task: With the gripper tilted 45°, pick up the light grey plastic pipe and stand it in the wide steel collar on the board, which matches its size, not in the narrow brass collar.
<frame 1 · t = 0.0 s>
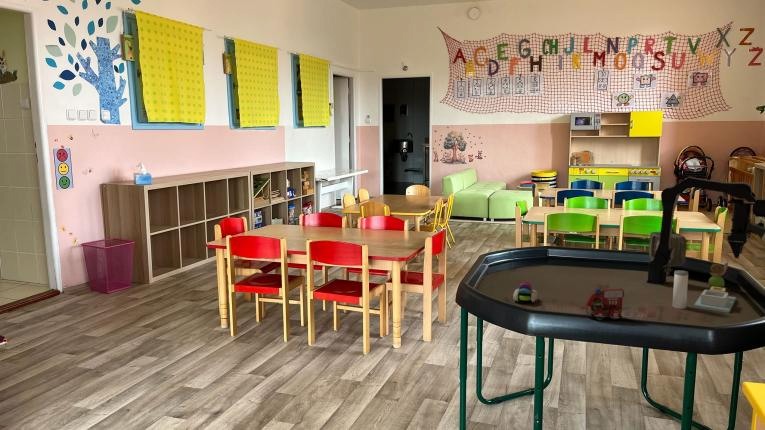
hand: (738, 255, 229), 15 cm above the table, tool pointing down, fingers open, 9 cm apart
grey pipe: (679, 306, 216), on the table
toy fire truck: (603, 318, 207), on the table
snail figurine: (717, 289, 237), on the table
multicoloured small toy: (525, 301, 227), on the table
tabletop clock: (666, 272, 264), on the table
fitting board: (715, 303, 219), on the table
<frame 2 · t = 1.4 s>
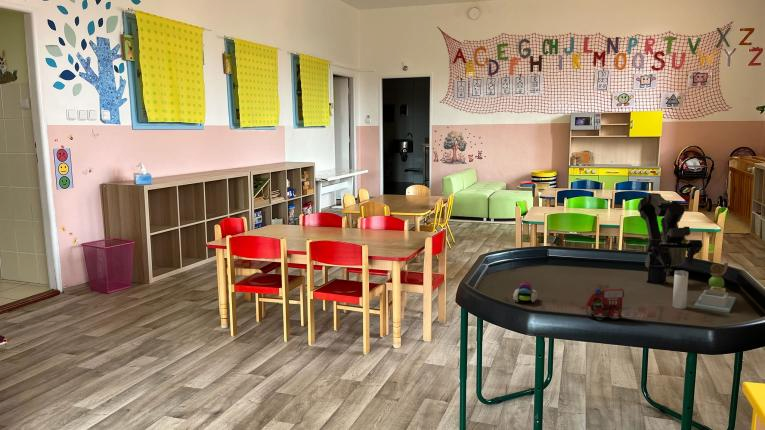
hand: (677, 265, 222), 13 cm above the table, tool tilted 45°, fingers open, 9 cm apart
nothing on the table moved.
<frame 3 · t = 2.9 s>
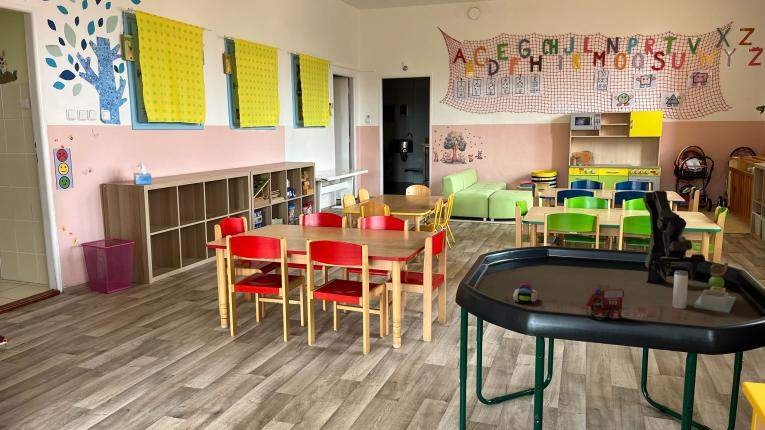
hand: (679, 280, 217), 9 cm above the table, tool tilted 45°, fingers open, 9 cm apart
nothing on the table moved.
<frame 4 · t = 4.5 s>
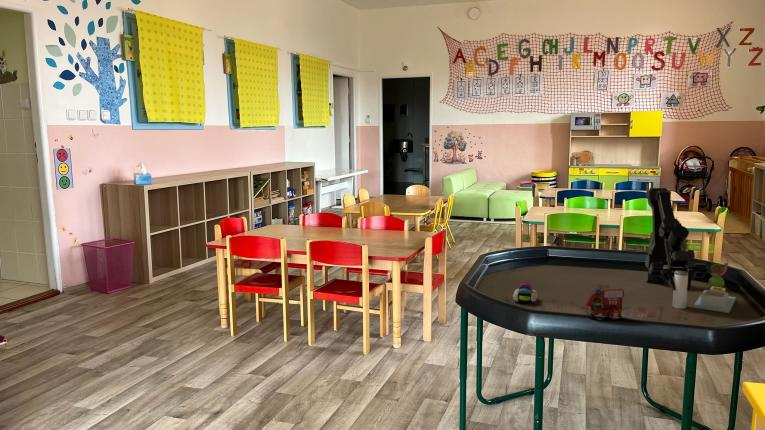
hand: (681, 290, 214), 7 cm above the table, tool tilted 45°, fingers closed on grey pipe, 4 cm apart
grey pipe: (679, 306, 216), on the table, touching gripper
everything else where it was.
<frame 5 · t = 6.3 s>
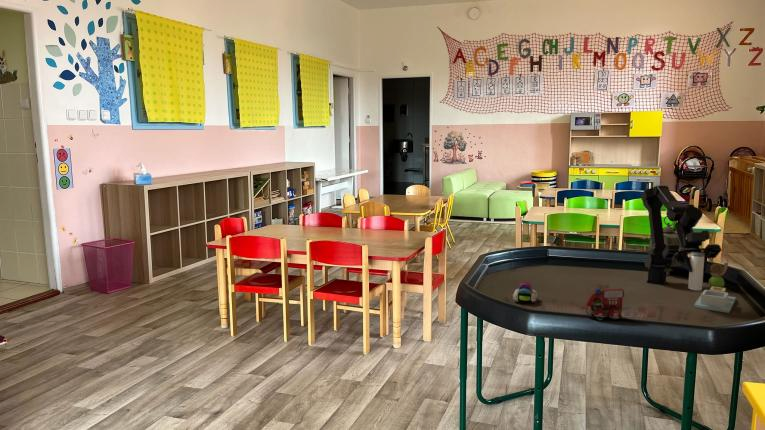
hand: (698, 271, 212), 13 cm above the table, tool tilted 45°, fingers closed on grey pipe, 4 cm apart
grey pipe: (695, 288, 215), point 7 cm above the table, touching gripper
everything else where it was.
when the fingers open (9 cm above the table, at t = 8.4 s): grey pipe drops 1 cm, resting on fitting board.
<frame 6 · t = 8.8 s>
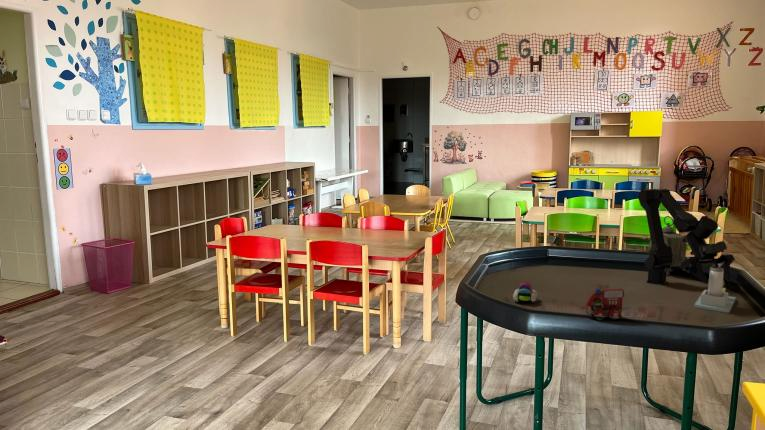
hand: (718, 282, 214), 9 cm above the table, tool tilted 45°, fingers open, 9 cm apart
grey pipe: (713, 303, 217), point 1 cm above the table, touching fitting board
everything else where it was.
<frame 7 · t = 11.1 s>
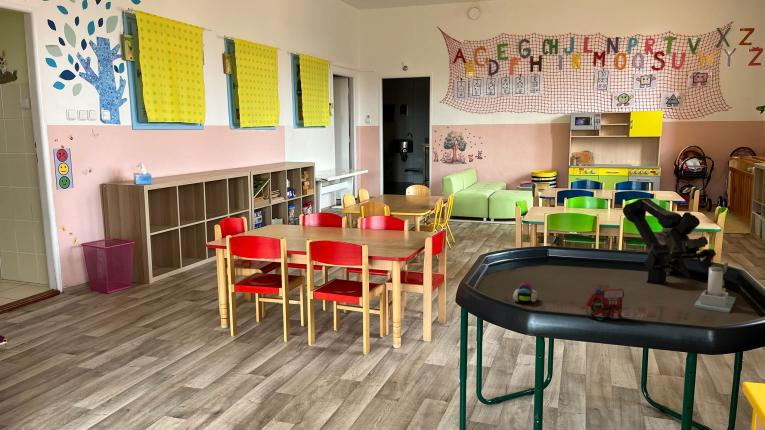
hand: (700, 276, 223), 9 cm above the table, tool tilted 45°, fingers open, 9 cm apart
nothing on the table moved.
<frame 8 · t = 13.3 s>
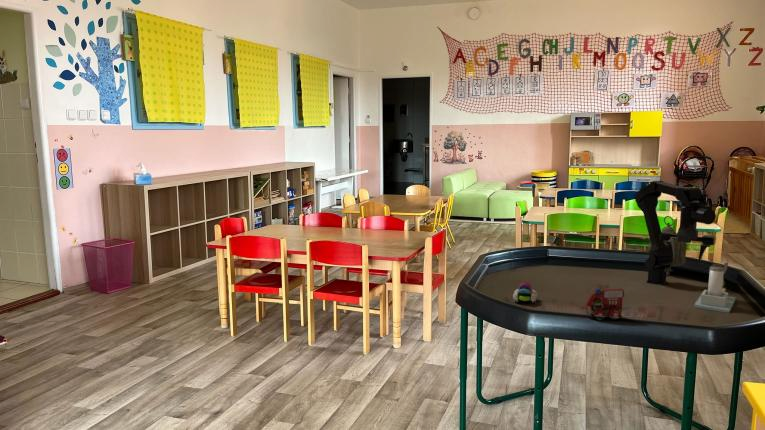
hand: (685, 260, 231), 13 cm above the table, tool pointing down, fingers open, 9 cm apart
nothing on the table moved.
at the end: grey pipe 0.0 cm from the target spot on the fitting board, point 1.0 cm above the fitting board's base; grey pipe tilted 1°; the gripper is holding nothing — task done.
